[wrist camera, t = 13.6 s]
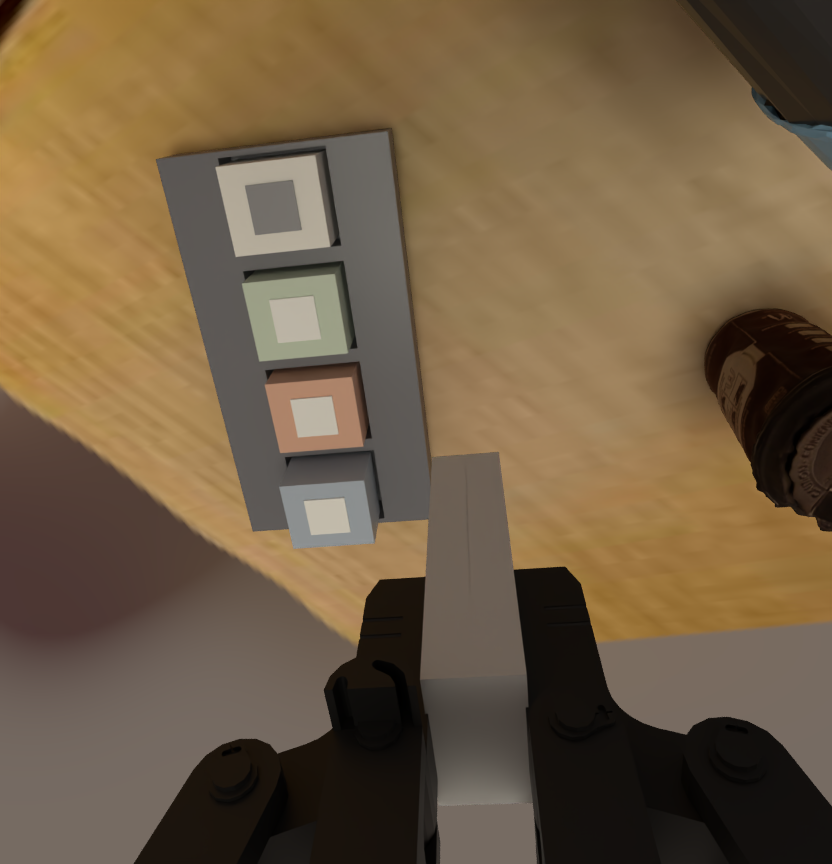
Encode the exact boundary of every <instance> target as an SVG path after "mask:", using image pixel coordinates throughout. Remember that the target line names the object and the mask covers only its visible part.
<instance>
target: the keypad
mask: <svg viewBox="0 0 832 864" xmlns="http://www.w3.org/2000/svg"><path fill="white" fill-rule="evenodd" d="M323 149H326V152H327V158H328V165H329V171H330V177H331V184H332V190H333V196H334V202H335V209H336V215H337V221H338V228H339V234H340V235H339V236H338V237H337V239H336V240H335V241H334V243H333V244H332V245H331V247H324V248H315V249H305V250H296V251H287V252H277V253H268V254H259V255H249V256H240V257H236V256H235V252H234V247H233V243H232V238H231V234H230V229H229V225H228V221H227V216H226V212H225V207H224V203H223V199H222V194H221V190H220V185H219V181H218V177H217V172H216V168H215V167H217V166H220V165H223V164H226V163H229V162H231V161H234V160H240V159H248V158H257V157H265V156H273V155H281V154H290V153H298V152H306V151H315V150H323ZM156 162H157V166H158V169H159V173H160V177H161V181H162V185H163V189H164V192H165V196H166V200H167V204H168V208H169V212H170V215H171V219H172V223H173V227H174V231H175V235H176V238H177V242H178V246H179V250H180V254H181V258H182V261H183V265H184V269H185V273H186V277H187V281H188V284H189V288H190V292H191V296H192V300H193V304H194V307H195V311H196V315H197V319H198V323H199V327H200V330H201V334H202V338H203V342H204V346H205V350H206V353H207V357H208V361H209V365H210V369H211V373H212V376H213V380H214V384H215V388H216V392H217V396H218V399H219V403H220V407H221V411H222V415H223V419H224V422H225V426H226V430H227V434H228V438H229V442H230V445H231V449H232V453H233V457H234V461H235V465H236V468H237V472H238V476H239V480H240V484H241V488H242V491H243V495H244V499H245V503H246V507H247V511H248V514H249V518H250V522H251V526H252V530H253V531H266V530H281V529H289V527H288V523H287V518H286V514H285V510H284V505H283V501H282V497H281V492H280V488H279V486H280V484H281V481H282V479H283V477H284V474H285V472H286V470H287V467H288V465H289V463H290V460H291V458H292V457H300V456H312V455H325V454H338V453H350V452H363V451H371V457H372V463H373V469H374V475H375V482H376V488H377V494H378V500H379V506H380V514H379V520H378V523H382V522H396V521H411V520H425V519H429V505H430V487H431V469H432V464H431V455H430V447H429V438H428V430H427V422H426V413H425V405H424V396H423V388H422V379H421V371H420V362H419V354H418V346H417V337H416V329H415V320H414V312H413V303H412V295H411V287H410V278H409V270H408V261H407V253H406V244H405V236H404V227H403V219H402V211H401V202H400V194H399V185H398V177H397V168H396V160H395V152H394V143H393V135H392V128H389V129H381V130H373V131H365V132H356V133H348V134H340V135H332V136H324V137H315V138H307V139H299V140H291V141H283V142H274V143H266V144H258V145H250V146H242V147H233V148H225V149H217V150H209V151H201V152H192V153H184V154H176V155H171V156H167V157H163V158H159V159H156ZM336 261H344V265H345V272H346V278H347V284H348V291H349V297H350V303H351V310H352V316H353V322H354V328H355V337H354V339H353V342H352V344H351V347H350V349H349V352H348V353H347V354H336V355H325V356H314V357H303V358H292V359H282V360H271V361H260V362H259V357H258V353H257V349H256V344H255V340H254V335H253V331H252V327H251V322H250V318H249V313H248V309H247V305H246V300H245V296H244V291H243V287H242V283H243V282H244V281H245V280H246V279H247V278H248V277H249V276H250V275H251V274H252V273H253V272H254V271H255V270H260V269H270V268H279V267H289V266H298V265H308V264H317V263H327V262H336ZM359 361H360V366H361V372H362V379H363V385H364V391H365V398H366V404H367V410H368V417H369V426H368V430H367V434H366V438H365V442H364V446H363V447H351V448H339V449H326V450H314V451H301V452H289V453H280V450H279V446H278V441H277V437H276V432H275V428H274V424H273V419H272V415H271V410H270V406H269V402H268V397H267V393H266V388H265V383H266V382H267V380H268V379H269V377H270V375H271V374H272V372H273V371H274V369H282V368H293V367H304V366H315V365H326V364H337V363H348V362H359Z"/></svg>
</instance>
